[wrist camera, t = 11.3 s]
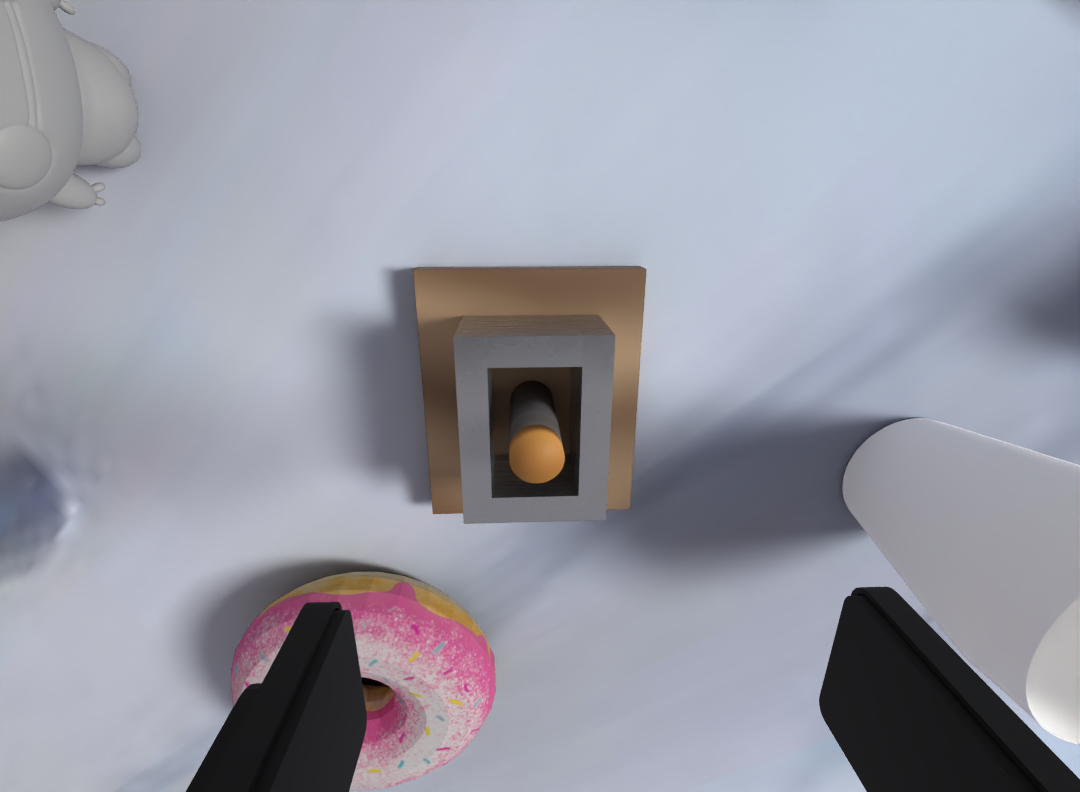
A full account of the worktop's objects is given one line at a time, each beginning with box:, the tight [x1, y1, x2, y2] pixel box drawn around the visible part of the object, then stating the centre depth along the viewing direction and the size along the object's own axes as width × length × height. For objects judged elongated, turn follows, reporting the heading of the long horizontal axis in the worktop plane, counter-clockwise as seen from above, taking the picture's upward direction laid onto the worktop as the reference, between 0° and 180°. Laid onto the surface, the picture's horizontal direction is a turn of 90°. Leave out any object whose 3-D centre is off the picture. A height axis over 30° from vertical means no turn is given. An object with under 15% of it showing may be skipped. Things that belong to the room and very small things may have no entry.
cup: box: [842, 418, 1080, 745], centre depth 22 cm, size 9×9×12 cm
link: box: [453, 315, 616, 524], centre depth 22 cm, size 8×6×4 cm
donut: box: [231, 572, 496, 790], centre depth 28 cm, size 14×13×5 cm
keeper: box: [413, 266, 646, 514], centre depth 22 cm, size 12×10×7 cm
